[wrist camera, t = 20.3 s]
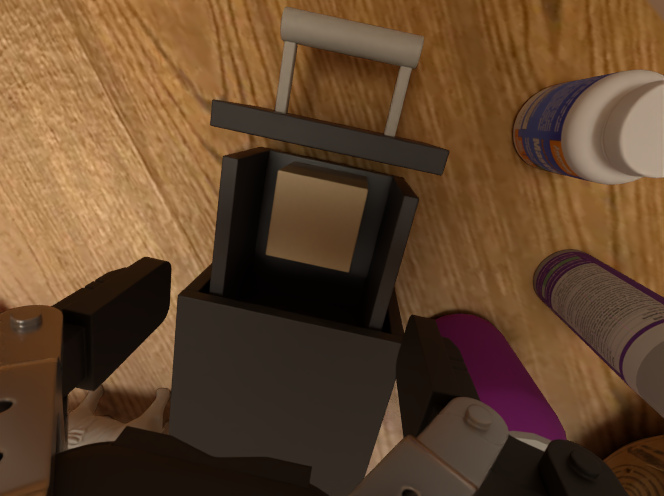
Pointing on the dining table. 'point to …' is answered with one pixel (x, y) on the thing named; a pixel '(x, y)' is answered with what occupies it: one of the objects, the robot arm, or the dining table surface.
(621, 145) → the pill bottle
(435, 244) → the dining table surface
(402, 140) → the sliding drawer
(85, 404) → the dog figurine
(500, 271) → the dining table surface
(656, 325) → the container
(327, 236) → the block
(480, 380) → the beverage can
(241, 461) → the robot arm
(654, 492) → the ceramic bowl
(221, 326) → the black drawer box
